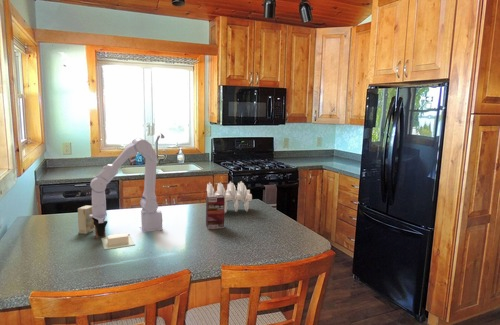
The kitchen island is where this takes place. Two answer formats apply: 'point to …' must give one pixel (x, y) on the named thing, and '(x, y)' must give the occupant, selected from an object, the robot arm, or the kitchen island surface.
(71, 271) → the kitchen island surface
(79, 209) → the skincare box
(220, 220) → the supplement box
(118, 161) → the robot arm
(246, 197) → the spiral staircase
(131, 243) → the plate
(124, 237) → the base brick
